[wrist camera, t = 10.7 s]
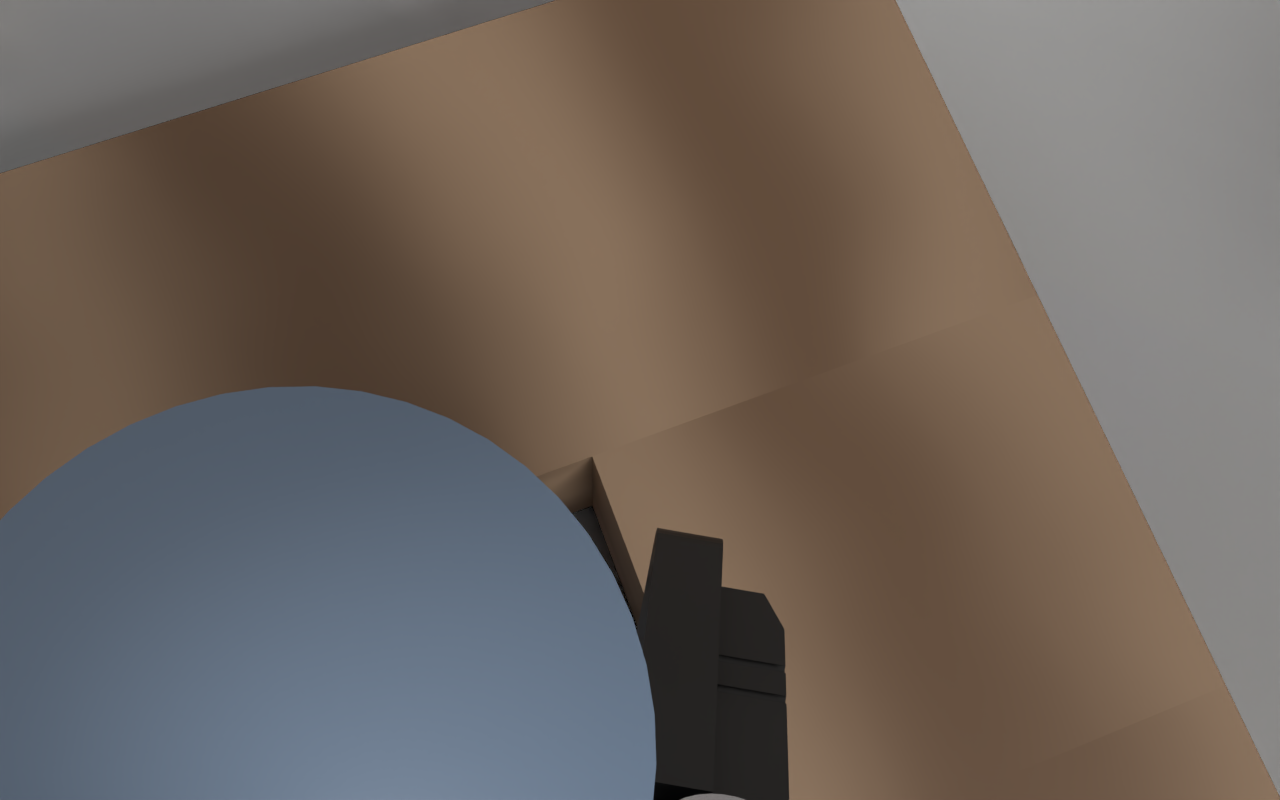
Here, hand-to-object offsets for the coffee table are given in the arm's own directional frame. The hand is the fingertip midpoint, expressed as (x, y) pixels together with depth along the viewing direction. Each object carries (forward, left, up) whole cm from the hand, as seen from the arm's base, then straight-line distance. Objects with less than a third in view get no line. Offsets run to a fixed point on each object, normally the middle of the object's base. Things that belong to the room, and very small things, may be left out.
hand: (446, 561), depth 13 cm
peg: (+1, +2, -4) cm, 4 cm away
